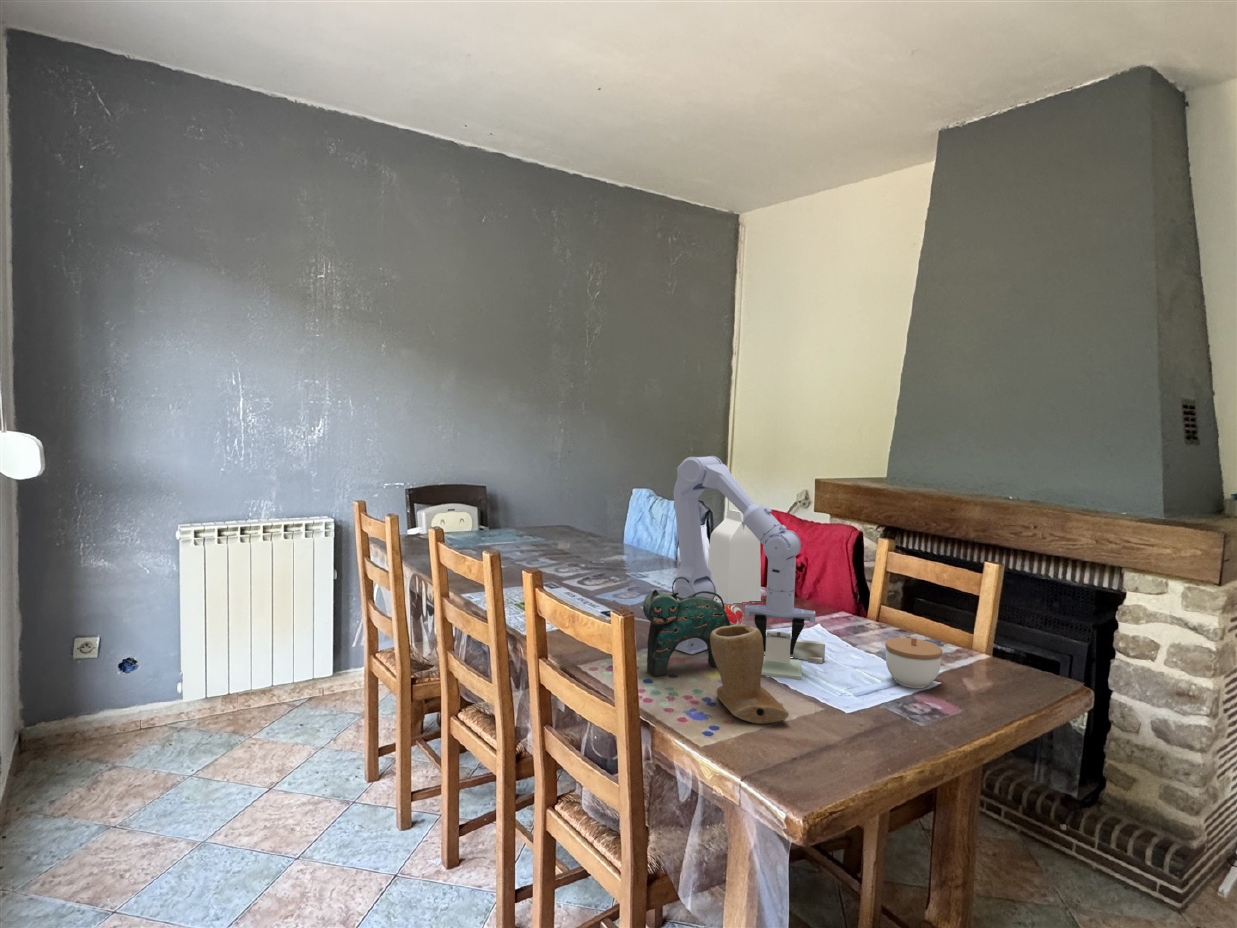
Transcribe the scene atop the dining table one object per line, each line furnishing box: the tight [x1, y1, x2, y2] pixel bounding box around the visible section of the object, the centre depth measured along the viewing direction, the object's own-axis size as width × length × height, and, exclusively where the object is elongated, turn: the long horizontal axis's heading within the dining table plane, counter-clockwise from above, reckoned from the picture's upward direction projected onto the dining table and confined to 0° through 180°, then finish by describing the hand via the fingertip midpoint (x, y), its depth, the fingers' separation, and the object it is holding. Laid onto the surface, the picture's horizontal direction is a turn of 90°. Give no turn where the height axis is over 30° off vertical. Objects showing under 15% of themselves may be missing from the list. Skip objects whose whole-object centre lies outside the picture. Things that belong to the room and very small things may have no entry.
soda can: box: [724, 604, 746, 626], centre depth 167 cm, size 7×7×12 cm
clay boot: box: [710, 624, 790, 725], centre depth 127 cm, size 15×12×15 cm
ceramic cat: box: [642, 577, 730, 677], centre depth 147 cm, size 20×6×20 cm, turn 112°
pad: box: [761, 656, 803, 680], centre depth 149 cm, size 10×10×1 cm
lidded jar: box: [885, 636, 943, 689], centre depth 143 cm, size 11×11×9 cm
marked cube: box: [765, 630, 792, 663], centre depth 149 cm, size 5×5×5 cm
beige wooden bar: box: [764, 639, 826, 664], centre depth 157 cm, size 20×4×4 cm, turn 76°
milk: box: [707, 508, 762, 605], centre depth 205 cm, size 12×12×26 cm
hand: (777, 651), depth 149 cm, fingers closed on marked cube, 5 cm apart
